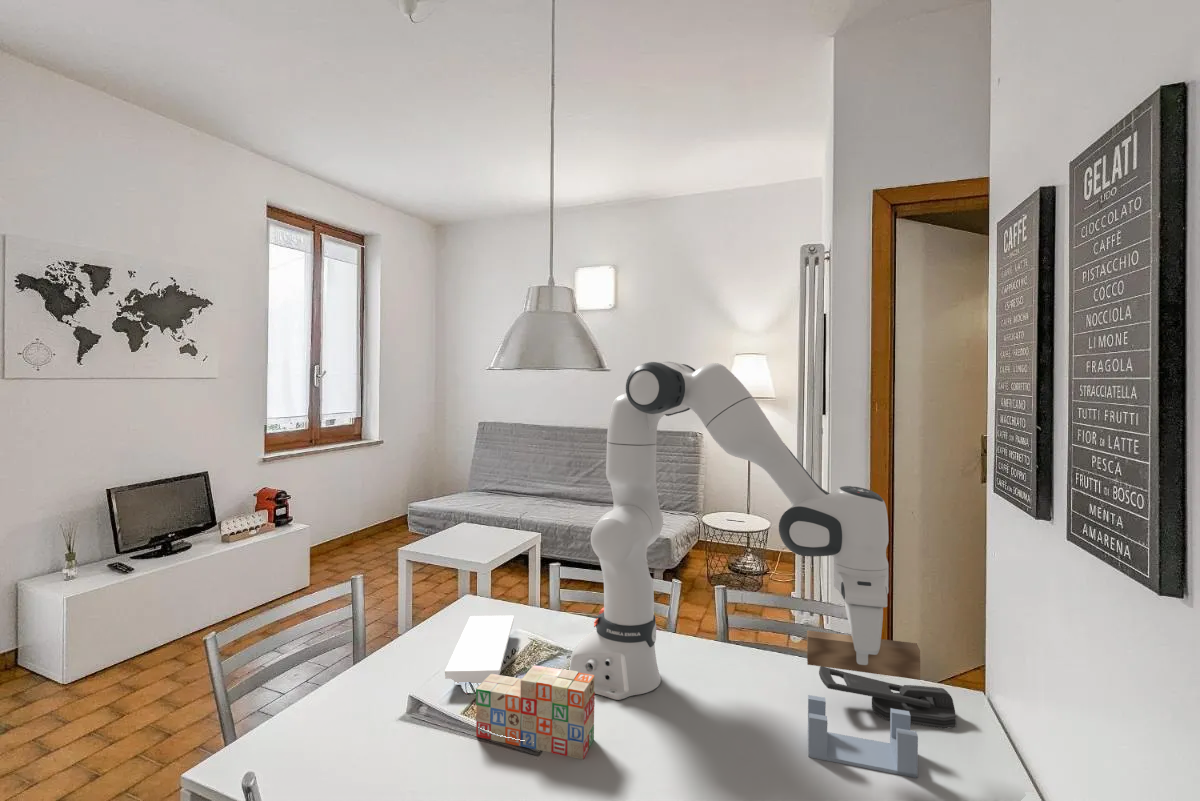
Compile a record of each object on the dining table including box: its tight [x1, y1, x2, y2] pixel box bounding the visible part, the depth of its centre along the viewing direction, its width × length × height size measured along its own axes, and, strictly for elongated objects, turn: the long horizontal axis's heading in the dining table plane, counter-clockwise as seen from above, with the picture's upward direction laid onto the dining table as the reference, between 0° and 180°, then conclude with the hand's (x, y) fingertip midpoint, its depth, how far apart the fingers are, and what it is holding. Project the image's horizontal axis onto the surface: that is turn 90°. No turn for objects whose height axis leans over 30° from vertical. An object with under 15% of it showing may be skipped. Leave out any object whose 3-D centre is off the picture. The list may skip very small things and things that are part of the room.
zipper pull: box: [818, 666, 957, 730], centre depth 116 cm, size 9×7×25 cm
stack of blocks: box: [475, 664, 596, 760], centre depth 106 cm, size 21×6×12 cm, turn 73°
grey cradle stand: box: [807, 694, 919, 779], centre depth 102 cm, size 17×8×7 cm, turn 71°
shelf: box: [444, 615, 515, 683], centre depth 137 cm, size 12×30×5 cm, turn 3°
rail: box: [806, 630, 921, 680], centre depth 102 cm, size 18×3×5 cm, turn 71°
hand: (860, 657), depth 102 cm, fingers closed on rail, 3 cm apart
